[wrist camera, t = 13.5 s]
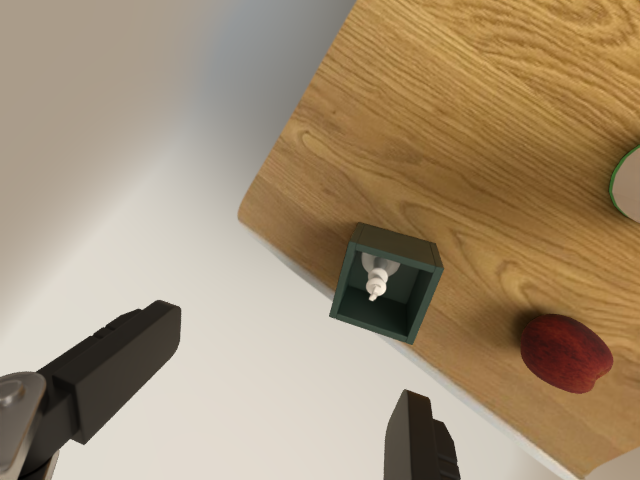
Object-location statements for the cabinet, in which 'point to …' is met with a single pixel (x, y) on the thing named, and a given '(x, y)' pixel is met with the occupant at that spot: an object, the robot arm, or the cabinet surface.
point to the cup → (627, 185)
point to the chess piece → (377, 273)
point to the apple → (564, 353)
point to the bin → (388, 283)
